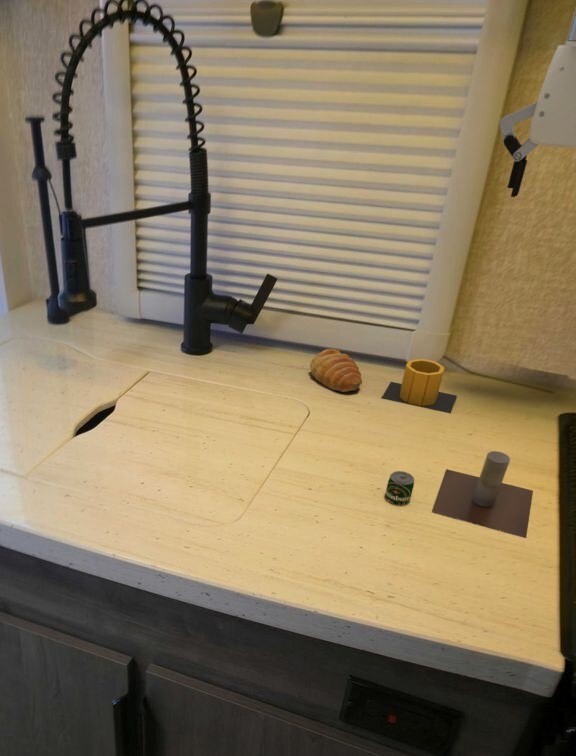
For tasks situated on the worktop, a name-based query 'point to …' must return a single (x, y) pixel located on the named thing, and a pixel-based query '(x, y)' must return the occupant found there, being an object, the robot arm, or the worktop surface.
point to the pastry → (336, 370)
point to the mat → (442, 404)
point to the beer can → (399, 488)
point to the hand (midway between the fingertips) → (555, 198)
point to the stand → (485, 498)
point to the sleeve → (421, 382)
